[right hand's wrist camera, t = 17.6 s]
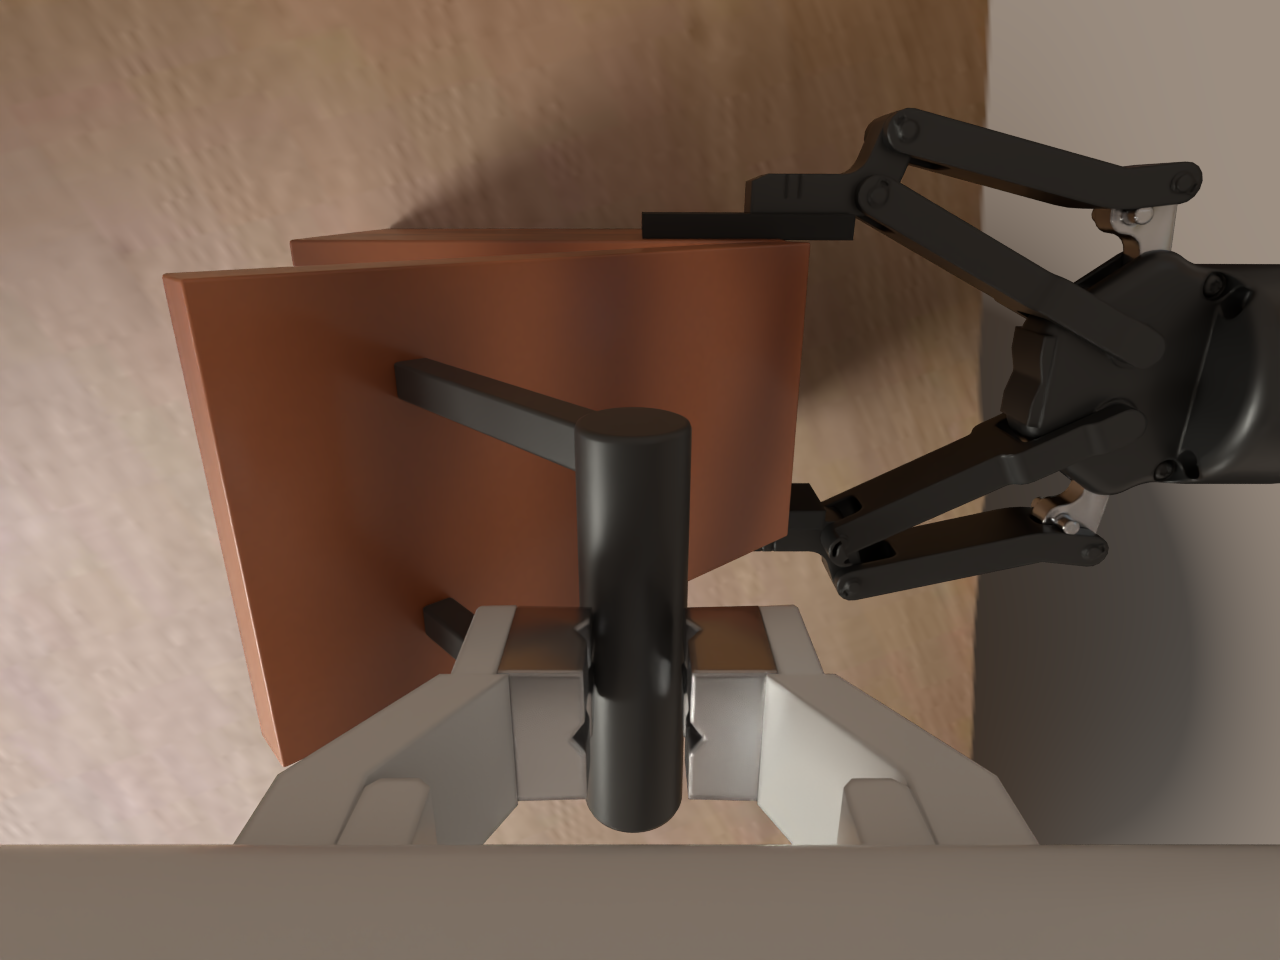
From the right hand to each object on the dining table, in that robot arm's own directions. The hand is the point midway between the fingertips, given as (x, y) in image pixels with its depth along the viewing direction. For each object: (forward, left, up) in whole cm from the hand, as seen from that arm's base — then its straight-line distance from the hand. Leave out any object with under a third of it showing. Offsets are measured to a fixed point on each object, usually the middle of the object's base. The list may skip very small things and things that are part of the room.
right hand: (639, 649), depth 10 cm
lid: (-1, -1, -9) cm, 9 cm away
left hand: (0, 0, -17) cm, 17 cm away
